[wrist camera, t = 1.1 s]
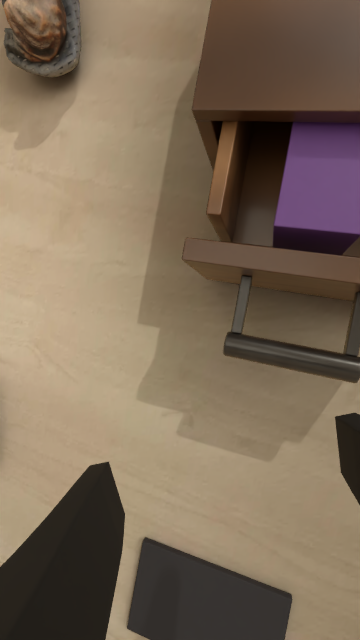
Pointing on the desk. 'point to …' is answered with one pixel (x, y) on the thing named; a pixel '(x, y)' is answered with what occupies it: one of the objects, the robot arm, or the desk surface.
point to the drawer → (269, 250)
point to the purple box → (320, 189)
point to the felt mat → (202, 600)
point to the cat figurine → (43, 35)
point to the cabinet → (278, 64)
